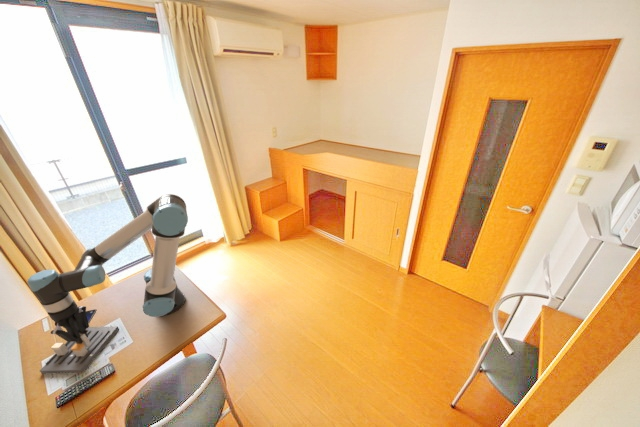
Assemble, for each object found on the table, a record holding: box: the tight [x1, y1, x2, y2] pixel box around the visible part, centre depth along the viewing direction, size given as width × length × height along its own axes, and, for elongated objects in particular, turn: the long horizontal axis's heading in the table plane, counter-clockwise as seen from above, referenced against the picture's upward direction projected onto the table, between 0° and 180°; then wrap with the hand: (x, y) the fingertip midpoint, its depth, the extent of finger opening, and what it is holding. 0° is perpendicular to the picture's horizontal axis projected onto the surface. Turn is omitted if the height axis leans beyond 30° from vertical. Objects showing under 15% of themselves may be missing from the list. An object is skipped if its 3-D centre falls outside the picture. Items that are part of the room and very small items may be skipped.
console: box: [39, 326, 119, 375], centre depth 104 cm, size 16×20×3 cm
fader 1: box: [50, 342, 69, 356], centre depth 100 cm, size 3×2×5 cm
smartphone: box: [66, 308, 97, 333], centre depth 117 cm, size 7×1×15 cm
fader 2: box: [71, 344, 88, 356], centre depth 99 cm, size 3×2×5 cm
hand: (86, 345), depth 102 cm, fingers closed
